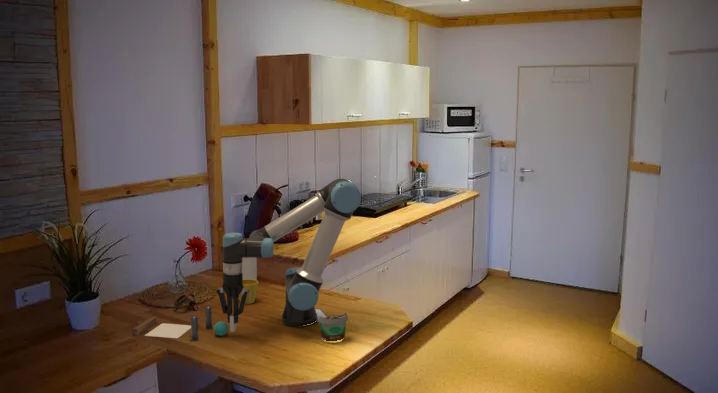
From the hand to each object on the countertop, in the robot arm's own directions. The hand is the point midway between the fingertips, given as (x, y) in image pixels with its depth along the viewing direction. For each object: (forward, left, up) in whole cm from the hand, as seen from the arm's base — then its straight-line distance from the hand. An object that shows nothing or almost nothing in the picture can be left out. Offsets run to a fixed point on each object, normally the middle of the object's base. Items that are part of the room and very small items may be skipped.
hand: (233, 330), depth 231 cm
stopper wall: (+38, 0, -2) cm, 38 cm away
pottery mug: (+33, -27, -3) cm, 42 cm away
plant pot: (+10, -42, -3) cm, 43 cm away
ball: (+5, 0, 0) cm, 5 cm away
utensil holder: (+24, -72, -3) cm, 76 cm away
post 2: (+13, -7, -2) cm, 15 cm away
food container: (-41, -3, -3) cm, 41 cm away
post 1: (+13, +6, -2) cm, 15 cm away
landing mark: (+27, 0, -2) cm, 27 cm away
